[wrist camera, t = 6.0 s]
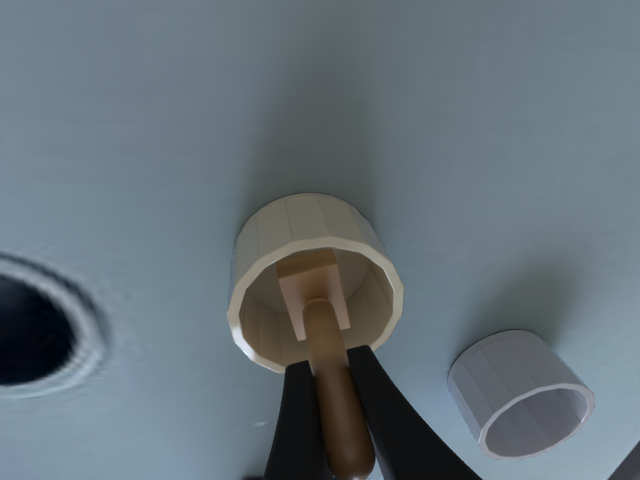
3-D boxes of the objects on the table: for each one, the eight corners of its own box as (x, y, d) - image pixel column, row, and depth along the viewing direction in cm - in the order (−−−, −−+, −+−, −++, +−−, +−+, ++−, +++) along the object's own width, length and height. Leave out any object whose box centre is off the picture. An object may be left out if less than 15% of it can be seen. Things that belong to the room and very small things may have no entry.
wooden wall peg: (345, 309, 16) (407, 500, 10) (294, 323, 16) (323, 523, 10) (331, 247, 14) (396, 428, 8) (275, 261, 14) (295, 455, 8)
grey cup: (509, 406, 25) (547, 462, 22) (429, 398, 24) (457, 459, 20) (566, 337, 23) (619, 389, 19) (480, 322, 21) (523, 377, 18)
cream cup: (346, 321, 19) (365, 382, 16) (219, 302, 17) (212, 366, 14) (396, 212, 16) (432, 258, 13) (252, 174, 15) (253, 218, 11)
